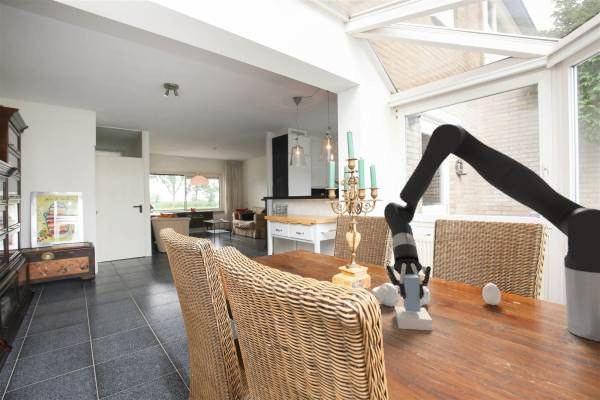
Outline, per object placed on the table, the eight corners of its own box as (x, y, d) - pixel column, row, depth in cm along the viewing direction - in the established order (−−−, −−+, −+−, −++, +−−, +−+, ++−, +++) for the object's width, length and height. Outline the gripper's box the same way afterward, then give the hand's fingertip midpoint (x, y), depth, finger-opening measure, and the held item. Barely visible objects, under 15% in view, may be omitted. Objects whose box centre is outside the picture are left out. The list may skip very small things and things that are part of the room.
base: (425, 317, 87) (424, 307, 87) (432, 330, 78) (432, 319, 78) (395, 315, 89) (394, 306, 89) (398, 328, 80) (398, 318, 80)
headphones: (437, 309, 92) (418, 295, 112) (435, 285, 93) (416, 275, 113) (377, 309, 94) (369, 295, 114) (376, 285, 95) (368, 275, 115)
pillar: (403, 306, 86) (402, 273, 86) (417, 306, 85) (416, 274, 85) (405, 311, 82) (404, 277, 82) (420, 311, 81) (419, 277, 81)
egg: (501, 308, 91) (500, 286, 91) (482, 305, 95) (481, 284, 95) (501, 303, 96) (500, 282, 96) (483, 301, 99) (482, 280, 99)
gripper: (383, 243, 92) (388, 291, 80) (428, 242, 89) (441, 292, 77) (382, 255, 98) (387, 302, 86) (425, 256, 95) (436, 304, 83)
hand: (412, 297), depth 82 cm, fingers closed on pillar, 4 cm apart
